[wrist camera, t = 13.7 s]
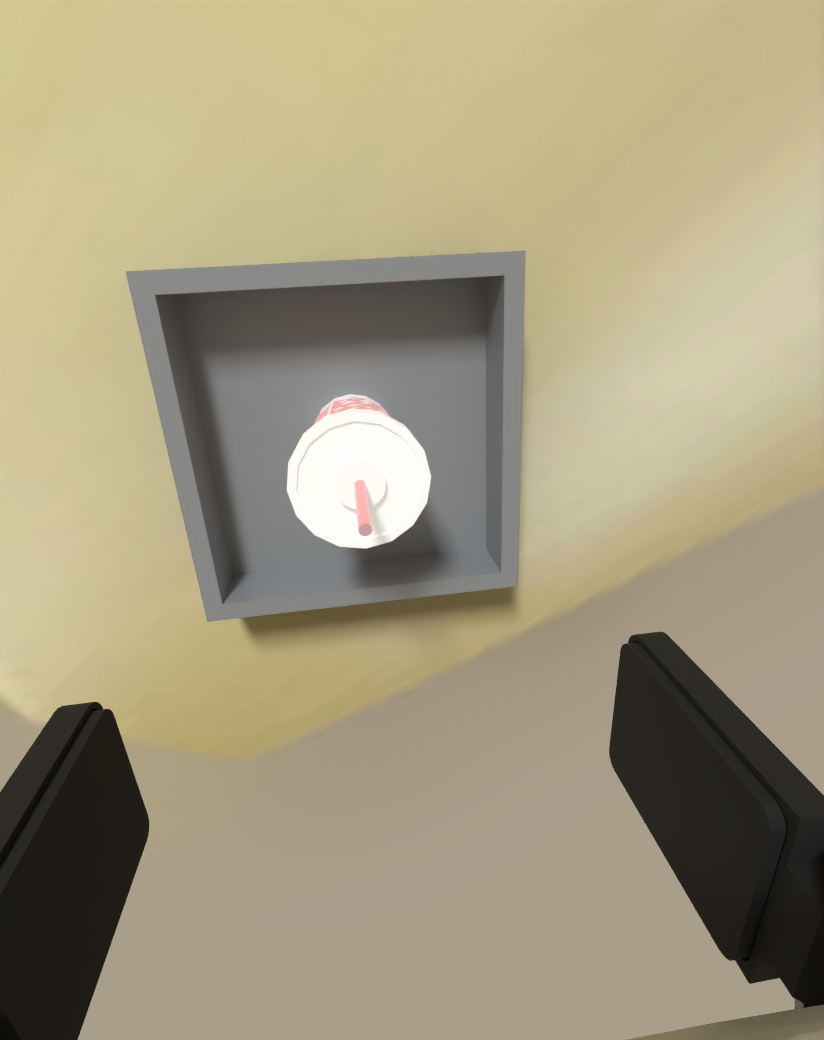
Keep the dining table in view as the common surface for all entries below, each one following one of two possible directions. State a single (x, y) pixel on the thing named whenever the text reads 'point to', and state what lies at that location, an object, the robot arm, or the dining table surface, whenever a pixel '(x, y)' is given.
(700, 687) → the robot arm
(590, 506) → the dining table surface
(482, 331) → the box
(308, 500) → the beverage cup
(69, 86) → the dining table surface
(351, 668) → the dining table surface
